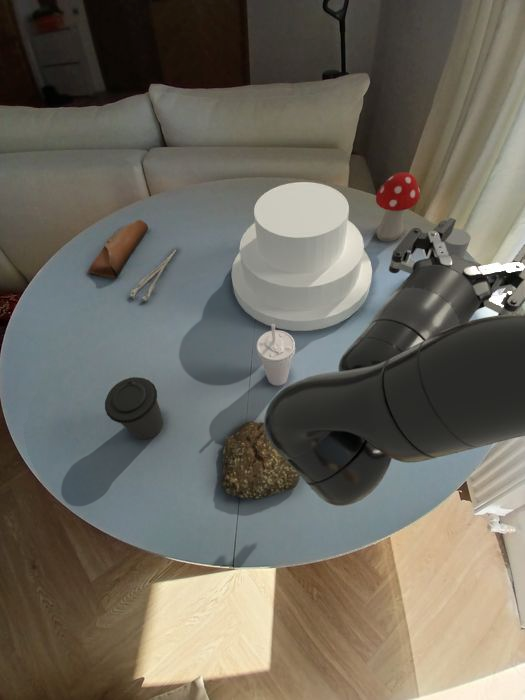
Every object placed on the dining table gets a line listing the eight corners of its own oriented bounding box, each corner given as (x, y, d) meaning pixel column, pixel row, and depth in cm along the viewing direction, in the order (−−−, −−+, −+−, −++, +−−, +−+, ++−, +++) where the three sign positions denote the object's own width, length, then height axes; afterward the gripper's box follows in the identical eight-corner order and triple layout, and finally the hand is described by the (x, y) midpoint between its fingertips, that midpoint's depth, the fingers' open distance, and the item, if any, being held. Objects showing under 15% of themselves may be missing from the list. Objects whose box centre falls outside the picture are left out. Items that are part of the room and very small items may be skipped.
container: (423, 310, 75) (447, 246, 63) (415, 293, 78) (437, 229, 66) (447, 307, 75) (476, 243, 63) (438, 290, 78) (464, 226, 66)
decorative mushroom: (386, 252, 91) (400, 192, 79) (360, 233, 95) (370, 174, 83) (417, 235, 93) (435, 175, 81) (391, 218, 98) (404, 158, 86)
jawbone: (148, 302, 86) (146, 295, 84) (130, 298, 87) (127, 291, 85) (185, 256, 96) (184, 249, 95) (169, 253, 97) (167, 246, 96)
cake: (324, 222, 99) (328, 151, 85) (399, 297, 82) (420, 224, 68) (213, 262, 92) (198, 192, 78) (269, 352, 75) (263, 284, 61)
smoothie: (285, 357, 74) (283, 306, 63) (301, 383, 71) (303, 333, 60) (254, 371, 73) (247, 321, 62) (269, 397, 69) (264, 350, 58)
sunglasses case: (119, 226, 102) (123, 208, 97) (144, 240, 104) (150, 222, 99) (86, 273, 92) (88, 255, 87) (114, 287, 94) (119, 270, 89)
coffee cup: (157, 396, 71) (139, 364, 63) (180, 427, 67) (164, 398, 59) (116, 422, 68) (93, 393, 60) (138, 457, 64) (115, 430, 56)
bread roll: (303, 496, 59) (304, 485, 55) (221, 504, 59) (216, 494, 55) (293, 419, 67) (293, 404, 63) (220, 426, 67) (215, 412, 63)
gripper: (509, 329, 33) (570, 232, 40) (363, 263, 40) (437, 189, 46) (476, 377, 39) (534, 286, 46) (354, 313, 46) (421, 241, 52)
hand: (486, 237), depth 46 cm, fingers open, 8 cm apart
